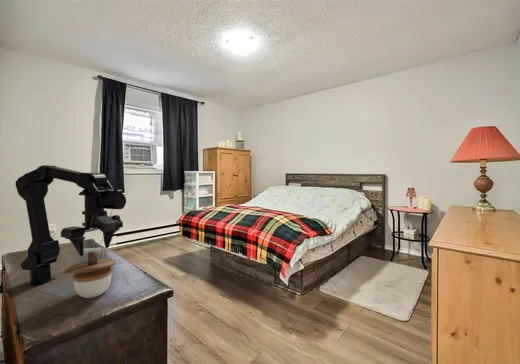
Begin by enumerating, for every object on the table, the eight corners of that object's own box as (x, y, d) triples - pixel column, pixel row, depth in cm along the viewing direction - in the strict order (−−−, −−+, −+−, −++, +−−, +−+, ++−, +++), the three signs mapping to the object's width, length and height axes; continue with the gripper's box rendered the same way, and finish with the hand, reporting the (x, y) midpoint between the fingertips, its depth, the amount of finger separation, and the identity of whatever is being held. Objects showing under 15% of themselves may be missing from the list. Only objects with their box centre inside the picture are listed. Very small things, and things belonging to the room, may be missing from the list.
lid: (57, 271, 77) (58, 256, 77) (96, 260, 89) (97, 247, 89) (87, 274, 73) (87, 258, 73) (124, 262, 85) (124, 248, 85)
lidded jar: (105, 284, 89) (105, 258, 88) (117, 293, 82) (116, 266, 82) (69, 295, 81) (68, 267, 80) (78, 307, 74) (78, 276, 73)
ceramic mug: (103, 265, 106) (103, 248, 106) (80, 269, 102) (79, 251, 102) (104, 258, 115) (103, 242, 115) (82, 261, 111) (82, 245, 111)
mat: (38, 292, 83) (38, 290, 83) (75, 277, 94) (75, 276, 94) (62, 298, 79) (62, 296, 79) (97, 282, 90) (97, 281, 90)
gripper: (82, 214, 74) (83, 264, 75) (133, 206, 92) (133, 247, 92) (59, 211, 78) (59, 259, 79) (112, 204, 96) (112, 243, 96)
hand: (94, 251), depth 87 cm, fingers open, 9 cm apart
